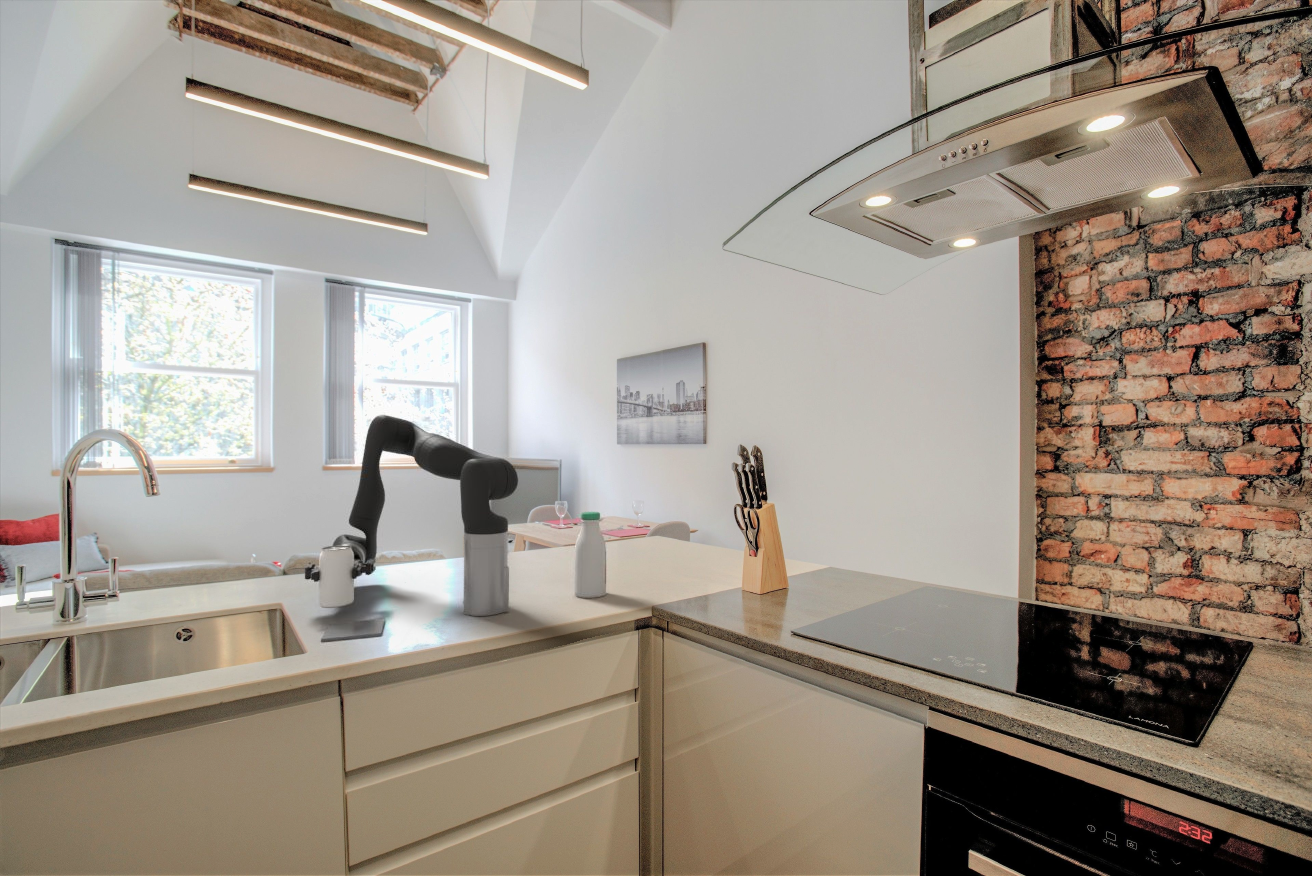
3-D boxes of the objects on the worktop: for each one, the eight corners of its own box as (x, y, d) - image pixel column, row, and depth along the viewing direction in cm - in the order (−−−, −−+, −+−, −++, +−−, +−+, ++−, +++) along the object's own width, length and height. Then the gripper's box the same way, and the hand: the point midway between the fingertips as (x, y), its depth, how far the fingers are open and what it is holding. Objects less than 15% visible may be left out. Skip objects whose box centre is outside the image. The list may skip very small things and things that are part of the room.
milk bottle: (604, 598, 140) (604, 514, 140) (571, 598, 140) (572, 514, 140) (607, 591, 147) (607, 510, 148) (576, 590, 148) (577, 510, 148)
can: (338, 609, 121) (339, 550, 121) (311, 607, 122) (311, 549, 123) (360, 601, 127) (360, 545, 128) (334, 599, 129) (334, 544, 129)
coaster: (384, 621, 121) (384, 618, 121) (380, 635, 112) (380, 633, 112) (329, 626, 118) (329, 623, 118) (320, 641, 108) (320, 639, 108)
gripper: (310, 547, 136) (295, 559, 120) (379, 543, 141) (373, 554, 125) (310, 580, 136) (295, 596, 120) (379, 574, 141) (373, 590, 125)
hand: (335, 575), depth 123 cm, fingers closed on can, 6 cm apart
